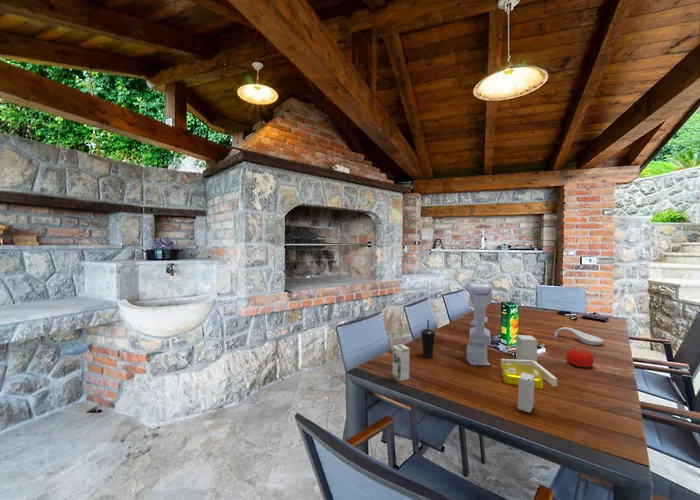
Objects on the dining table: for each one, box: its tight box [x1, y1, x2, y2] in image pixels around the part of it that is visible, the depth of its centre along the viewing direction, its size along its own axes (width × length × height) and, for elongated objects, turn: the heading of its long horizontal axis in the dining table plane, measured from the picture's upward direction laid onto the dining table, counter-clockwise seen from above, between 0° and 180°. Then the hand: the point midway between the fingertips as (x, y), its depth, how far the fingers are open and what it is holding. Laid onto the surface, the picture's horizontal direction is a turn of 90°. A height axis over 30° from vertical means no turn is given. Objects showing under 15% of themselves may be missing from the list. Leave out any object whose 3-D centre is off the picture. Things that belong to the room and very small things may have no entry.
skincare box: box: [517, 373, 535, 413], centre depth 112 cm, size 6×4×12 cm
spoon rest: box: [554, 326, 604, 346], centre depth 183 cm, size 24×12×7 cm, turn 43°
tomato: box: [566, 347, 595, 368], centre depth 149 cm, size 11×11×8 cm
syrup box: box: [391, 343, 410, 382], centre depth 136 cm, size 6×6×14 cm
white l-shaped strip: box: [500, 358, 558, 387], centre depth 138 cm, size 16×19×4 cm
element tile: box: [501, 362, 544, 390], centre depth 135 cm, size 15×15×5 cm
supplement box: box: [515, 334, 538, 363], centre depth 153 cm, size 7×7×13 cm
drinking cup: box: [420, 319, 436, 359], centre depth 160 cm, size 8×8×20 cm
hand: (479, 335), depth 165 cm, fingers closed
